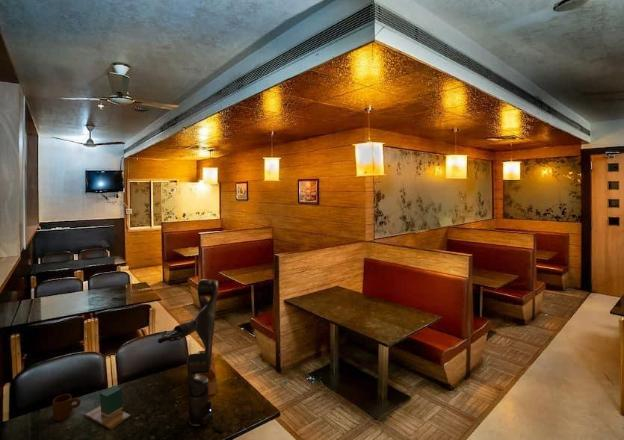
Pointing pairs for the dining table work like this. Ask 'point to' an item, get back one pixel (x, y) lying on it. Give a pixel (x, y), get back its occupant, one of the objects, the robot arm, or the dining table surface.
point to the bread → (211, 376)
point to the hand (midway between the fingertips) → (158, 341)
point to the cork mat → (105, 421)
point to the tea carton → (111, 401)
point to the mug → (64, 406)
